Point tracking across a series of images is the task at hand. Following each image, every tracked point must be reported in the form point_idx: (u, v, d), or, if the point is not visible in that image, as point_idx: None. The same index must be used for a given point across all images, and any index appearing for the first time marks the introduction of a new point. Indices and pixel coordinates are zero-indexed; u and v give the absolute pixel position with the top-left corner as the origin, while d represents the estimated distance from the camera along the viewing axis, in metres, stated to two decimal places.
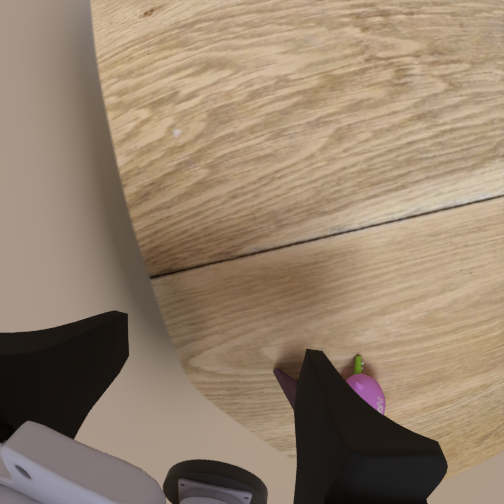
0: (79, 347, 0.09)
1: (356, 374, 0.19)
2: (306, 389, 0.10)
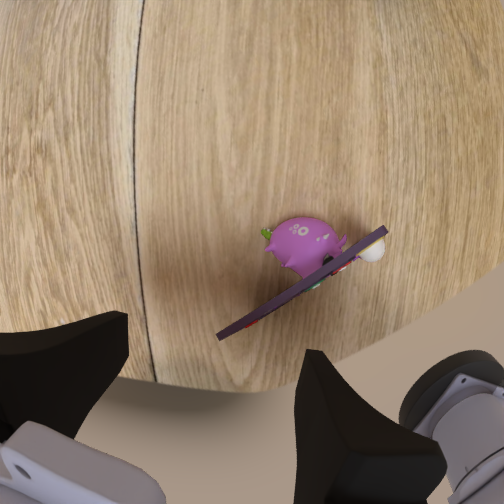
0: (78, 347, 0.09)
1: None
2: (306, 389, 0.10)
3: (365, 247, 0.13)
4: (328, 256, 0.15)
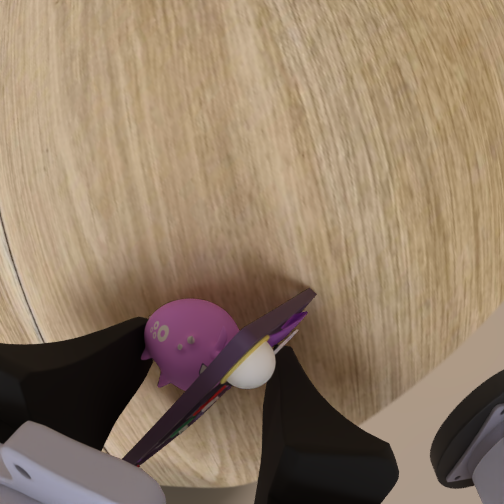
0: (108, 356, 0.09)
1: None
2: (271, 384, 0.10)
3: (220, 378, 0.06)
4: (205, 368, 0.09)
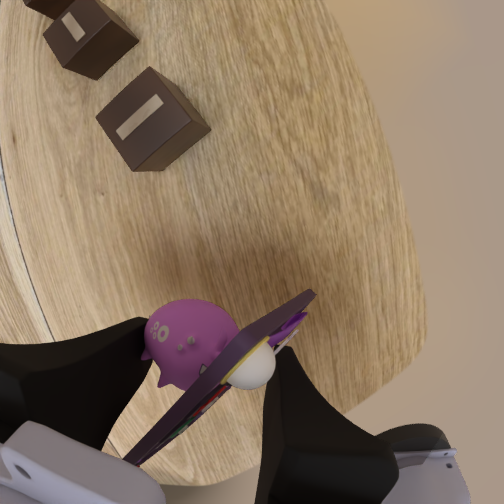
0: (107, 356, 0.09)
1: None
2: (271, 384, 0.10)
3: (221, 379, 0.06)
4: (205, 368, 0.09)
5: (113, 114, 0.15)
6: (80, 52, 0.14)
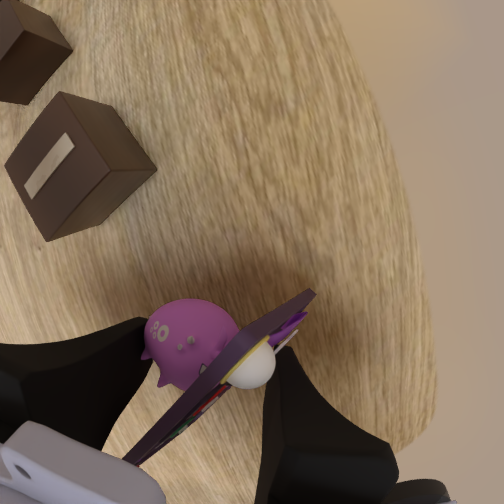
0: (108, 356, 0.09)
1: None
2: (271, 384, 0.10)
3: (220, 378, 0.06)
4: (205, 368, 0.09)
5: (21, 162, 0.10)
6: None
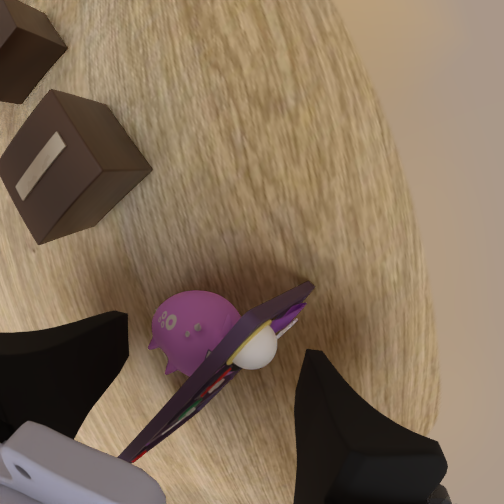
0: (79, 347, 0.09)
1: None
2: (306, 389, 0.10)
3: (227, 358, 0.07)
4: None
5: (12, 162, 0.09)
6: None
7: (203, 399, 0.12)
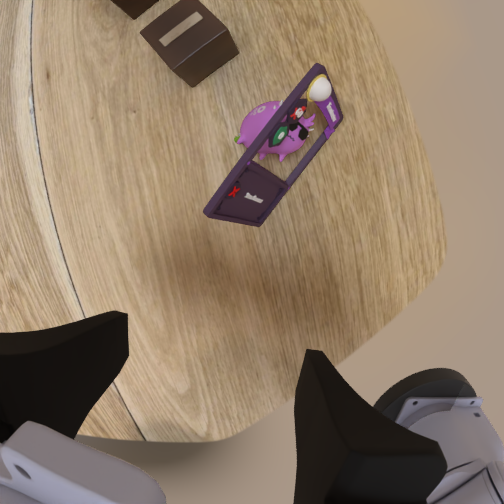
0: (78, 347, 0.09)
1: None
2: (306, 389, 0.10)
3: (309, 83, 0.13)
4: None
5: (157, 28, 0.15)
6: None
7: (274, 177, 0.18)
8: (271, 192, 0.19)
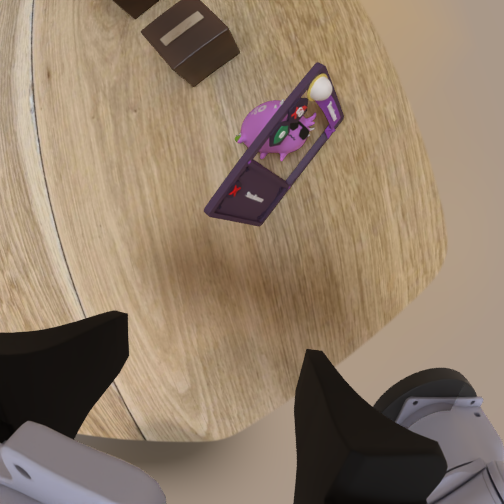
0: (78, 347, 0.09)
1: None
2: (306, 389, 0.10)
3: (310, 82, 0.13)
4: None
5: (158, 28, 0.15)
6: None
7: (275, 177, 0.18)
8: (272, 191, 0.19)
